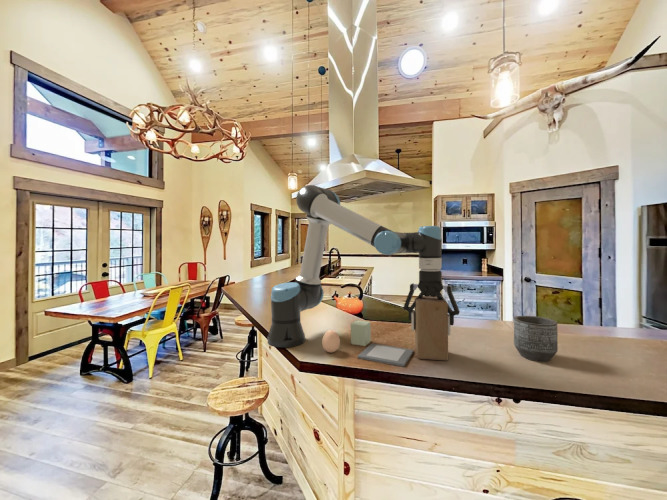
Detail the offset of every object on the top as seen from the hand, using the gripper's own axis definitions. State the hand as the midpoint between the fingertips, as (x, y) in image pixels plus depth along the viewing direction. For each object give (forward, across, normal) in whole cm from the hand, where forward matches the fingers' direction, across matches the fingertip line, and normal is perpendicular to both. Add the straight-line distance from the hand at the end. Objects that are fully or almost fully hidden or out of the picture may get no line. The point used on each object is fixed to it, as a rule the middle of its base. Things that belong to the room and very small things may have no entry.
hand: (430, 331), depth 99 cm
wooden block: (+8, 0, 0) cm, 8 cm away
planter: (+8, +32, +14) cm, 36 cm away
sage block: (+8, -27, +1) cm, 28 cm away
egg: (+8, -33, -13) cm, 36 cm away
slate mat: (+8, -14, -7) cm, 18 cm away
